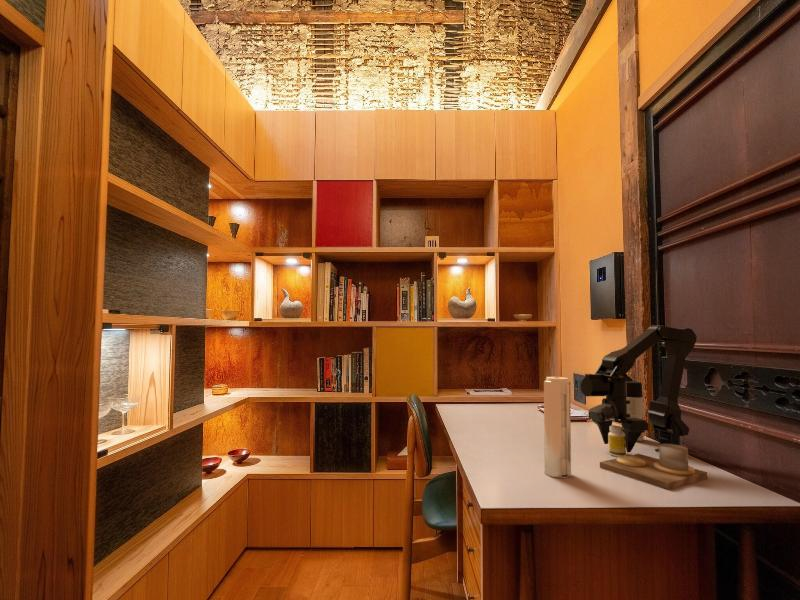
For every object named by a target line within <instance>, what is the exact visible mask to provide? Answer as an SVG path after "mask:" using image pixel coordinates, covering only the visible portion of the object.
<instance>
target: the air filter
mask: <svg viewBox="0 0 800 600" xmlns="http://www.w3.org/2000/svg"><path fill="white" fill-rule="evenodd" d="M545 377H546V378H545V379H544V380H543V410H544V411H543V415H544V416H543V418H544V419H543V427H544V428H543V429H544V431H543V432H544V433H543V435H544V438H543V439H544V441H543V442H544V443H543V445H544V448H543V449H544V452H543V453H544V460H543V462H544V474H545V475H547V476H548V477H552V478H556V479H568V478H571V477H572V451H571V450H572V435H571V434H572V433H571V431H572V429H571V427H572V426H571V422H572V421H571V416H572V415H571V381H570V378H569V377H565V376H564V377H563V376H562V377H561V376H545Z"/></svg>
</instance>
